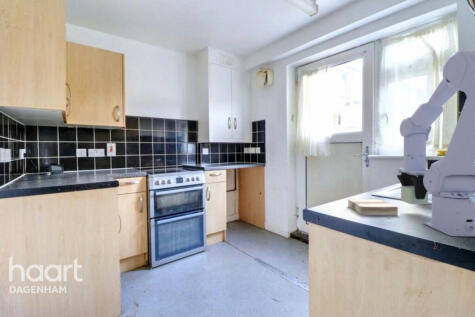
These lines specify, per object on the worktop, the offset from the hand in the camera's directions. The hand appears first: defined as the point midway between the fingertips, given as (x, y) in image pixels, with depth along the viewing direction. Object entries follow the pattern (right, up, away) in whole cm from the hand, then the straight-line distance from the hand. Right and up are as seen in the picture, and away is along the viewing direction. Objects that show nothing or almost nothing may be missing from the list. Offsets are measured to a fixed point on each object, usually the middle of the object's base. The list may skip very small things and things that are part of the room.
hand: (414, 197), depth 73 cm
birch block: (-12, -6, +4) cm, 14 cm away
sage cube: (0, -2, 0) cm, 2 cm away
